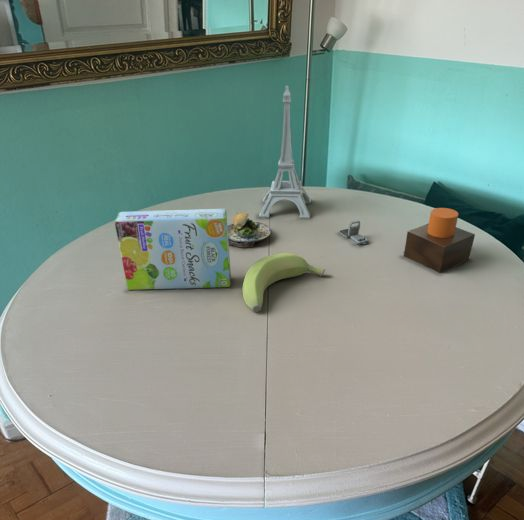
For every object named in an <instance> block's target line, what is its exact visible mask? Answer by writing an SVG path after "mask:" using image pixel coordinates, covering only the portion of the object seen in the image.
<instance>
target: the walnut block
mask: <svg viewBox="0 0 524 520" xmlns="http://www.w3.org/2000/svg"><path fill="white" fill-rule="evenodd" d="M428 225H429V222H428V223H426V224H422V225H420V226H418V227H415V228H412V229H410V230H408V231H406V232H407V233H406V238H405V245H404V251H403V257H404V258H407V259H409V260H411V261H413V262H415V263H417V264H419V265H421V266H424V267H426V268H428V269H431V270H433V271H434V272H437V273H442V272H445V271H447V270H449V269H451V268H454V267H456V266H458V265H461V264H463V263H464V262H467V261H470V257H471V252H472V248H473V244H474V240H475V237H476V233H473V232H470V231H467V230H465V229H462V228H460V227H457V226H456V228H455V233H454V235H453V236H452V237H449V238H438V237H434V236H431V235H430V234H428V232H427V230H428Z"/></svg>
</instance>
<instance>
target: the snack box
mask: <svg viewBox="0 0 524 520" xmlns="http://www.w3.org/2000/svg"><path fill="white" fill-rule="evenodd" d="M227 212H228V211H227V208H203V209H202V208H201V209H171V210H169V209H168V210H140V211H139V210H135V211H119V212H118V213H117V216H116V219H115V220H114V226H115V232H116V237H117V243H118V247H119V253H120V257H121V262H122V263H121V264H122V269H123V273H124V276H125V283H126V288H127V290H128V291H133V290H134V291H135V290H169V289H171V290H172V289H174V290H175V289H206V288H209V289H210V288H230V287H231V279H232V278H231V277H232V271H231V257H230V244H229V242H228V227H227V226H228V213H227Z"/></svg>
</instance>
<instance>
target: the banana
mask: <svg viewBox="0 0 524 520" xmlns="http://www.w3.org/2000/svg"><path fill="white" fill-rule="evenodd" d="M325 271H326V269H325V268H318V267H314V266H313V265H311V264H310V263H309V262H307V260H306V259H305V258H304V257H303V256H300V255H298V254H295V253H290V252H283V253H282V252H281V253H274V254H271V255H266V256H264V257H262V258H260V259H258V260H257V261H255V262H254V263H253V264H252V265H251V266H250V267H249V268H248V270H247V272H246V273H245V277H244V279H243V283H242V298H243V301H244V302H245V304H246V305H247V307H248V308H249V309H250V310H252V311H253V312H255V313H257V312H258V313H259V312H260V311H261V309H262V307H263V301H264V292H265V290H266V289H267V288H268V287H269V286H270V285H272V284H273V283H276V282H278V281H280V280H283V279H289V278H295V277H297V276H302V275H303V274H305V273H313V274H316V275H318V276H319V277H321V278H322V277H323V275H324V273H325Z"/></svg>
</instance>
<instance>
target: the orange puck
mask: <svg viewBox="0 0 524 520" xmlns="http://www.w3.org/2000/svg"><path fill="white" fill-rule="evenodd" d="M458 219H459V212H458V211H456V210H455V209H452V208H447V207H435V208H433V209H431V210H430V214H429V219H428V223H429V225H428V230H427V232H428V234H430V235H431V236H434V237H438V238H449V237H452V236H453V235H454V233H455V228H456V227H457V223H458Z"/></svg>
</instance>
